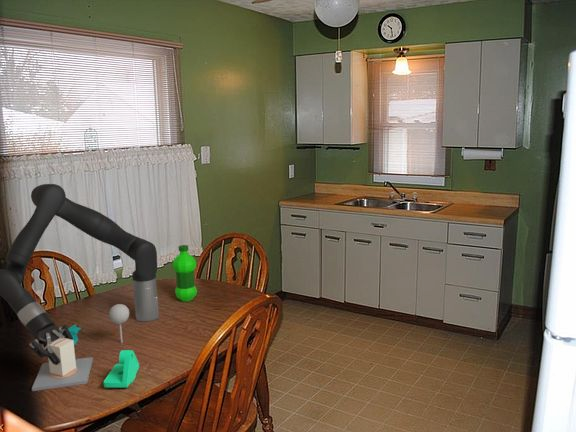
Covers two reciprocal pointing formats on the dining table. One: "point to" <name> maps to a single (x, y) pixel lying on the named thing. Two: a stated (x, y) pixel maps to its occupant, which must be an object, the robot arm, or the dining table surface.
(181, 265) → the plastic bottle
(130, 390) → the dining table surface
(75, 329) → the cloth
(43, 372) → the base
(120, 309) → the lollipop
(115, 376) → the camera mount
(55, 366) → the striped cream block
